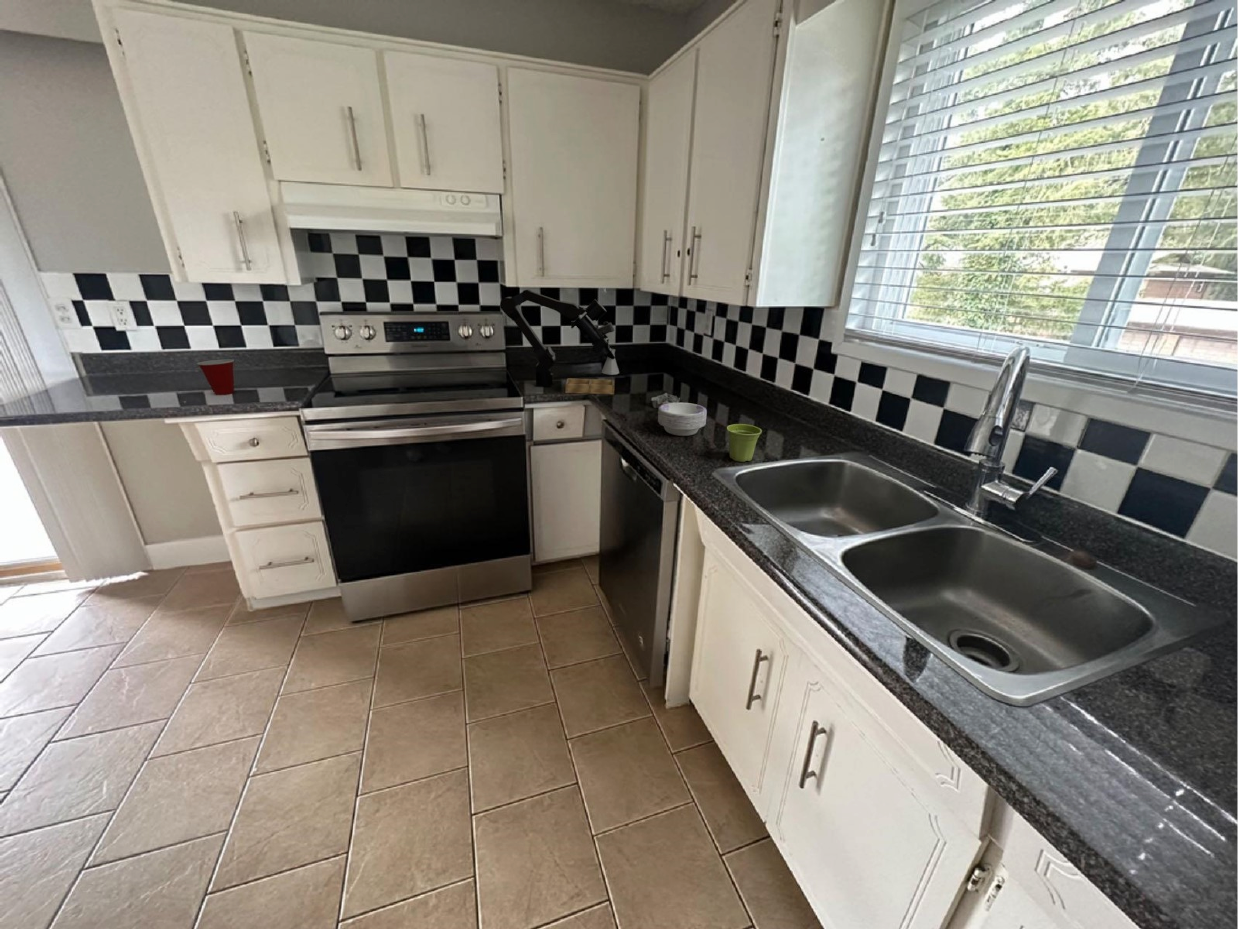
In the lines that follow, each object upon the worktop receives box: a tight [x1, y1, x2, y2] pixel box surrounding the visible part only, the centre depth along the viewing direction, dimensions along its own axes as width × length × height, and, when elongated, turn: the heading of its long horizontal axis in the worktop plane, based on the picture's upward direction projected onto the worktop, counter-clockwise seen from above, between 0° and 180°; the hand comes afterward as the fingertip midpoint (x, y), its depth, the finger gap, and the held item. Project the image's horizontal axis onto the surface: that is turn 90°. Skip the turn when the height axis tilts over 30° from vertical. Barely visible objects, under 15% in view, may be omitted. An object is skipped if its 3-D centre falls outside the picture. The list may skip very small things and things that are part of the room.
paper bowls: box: [657, 402, 708, 437], centre depth 159 cm, size 15×15×8 cm
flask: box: [600, 348, 620, 376], centre depth 208 cm, size 7×7×10 cm
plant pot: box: [726, 423, 763, 463], centre depth 139 cm, size 9×9×9 cm
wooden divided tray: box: [564, 377, 615, 395], centre depth 206 cm, size 20×10×4 cm, turn 91°
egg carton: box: [651, 392, 681, 409], centre depth 188 cm, size 11×8×4 cm
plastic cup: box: [196, 358, 235, 396], centre depth 182 cm, size 11×11×12 cm
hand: (614, 357), depth 208 cm, fingers closed on flask, 3 cm apart
